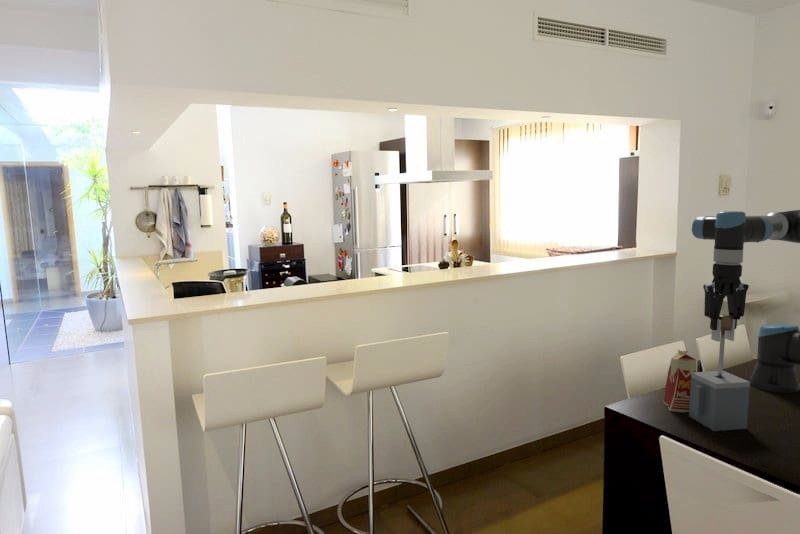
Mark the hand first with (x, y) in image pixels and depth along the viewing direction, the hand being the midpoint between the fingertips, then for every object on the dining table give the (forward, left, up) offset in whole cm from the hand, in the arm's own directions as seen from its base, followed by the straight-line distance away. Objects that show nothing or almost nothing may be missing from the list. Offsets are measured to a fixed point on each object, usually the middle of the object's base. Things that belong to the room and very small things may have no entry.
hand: (722, 339), depth 166 cm
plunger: (0, 0, -17) cm, 17 cm away
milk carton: (+3, -13, -26) cm, 30 cm away
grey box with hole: (0, 0, -26) cm, 26 cm away
